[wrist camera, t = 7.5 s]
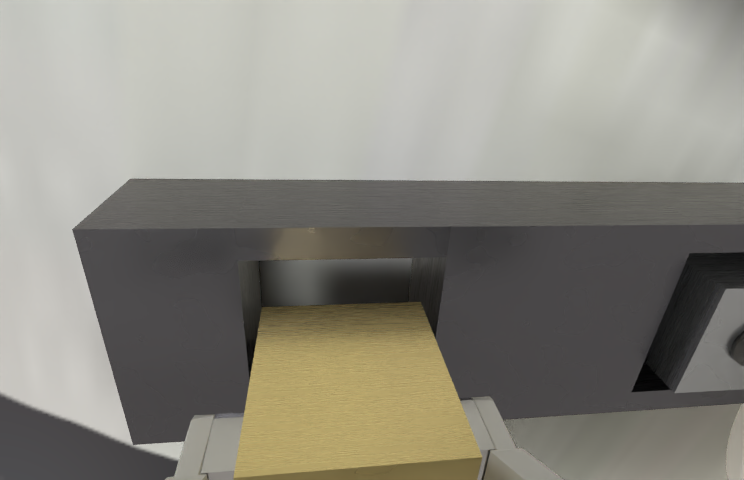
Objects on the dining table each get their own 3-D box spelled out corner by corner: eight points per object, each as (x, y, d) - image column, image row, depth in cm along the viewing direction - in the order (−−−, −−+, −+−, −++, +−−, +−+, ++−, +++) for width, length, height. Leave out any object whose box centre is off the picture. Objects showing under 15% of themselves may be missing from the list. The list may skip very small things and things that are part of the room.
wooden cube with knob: (420, 301, 12) (486, 466, 8) (407, 413, 14) (454, 599, 10) (261, 307, 12) (231, 489, 7) (270, 423, 14) (251, 625, 9)
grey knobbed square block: (719, 222, 19) (852, 289, 14) (680, 308, 21) (786, 391, 16) (624, 222, 18) (731, 292, 13) (594, 310, 20) (678, 397, 15)
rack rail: (838, 183, 18) (965, 222, 15) (755, 335, 22) (841, 396, 18) (130, 178, 15) (72, 229, 11) (168, 362, 18) (133, 444, 15)
